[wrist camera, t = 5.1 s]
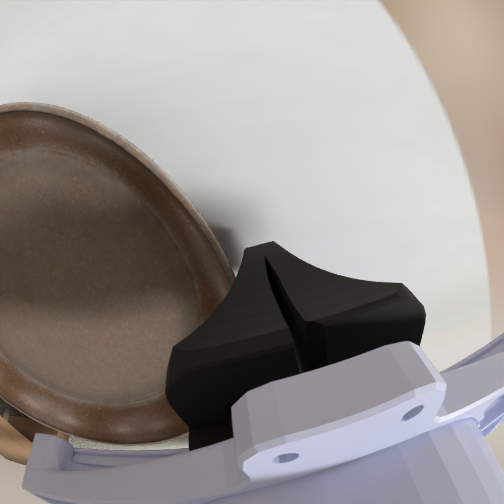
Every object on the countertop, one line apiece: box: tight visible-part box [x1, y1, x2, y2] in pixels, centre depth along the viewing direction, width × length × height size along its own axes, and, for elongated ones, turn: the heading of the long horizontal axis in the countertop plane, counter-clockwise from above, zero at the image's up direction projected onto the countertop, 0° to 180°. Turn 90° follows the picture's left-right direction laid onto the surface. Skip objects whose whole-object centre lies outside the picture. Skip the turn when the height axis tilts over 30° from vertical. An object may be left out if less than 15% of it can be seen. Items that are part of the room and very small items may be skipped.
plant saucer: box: [0, 102, 235, 446], centre depth 12 cm, size 21×21×3 cm
